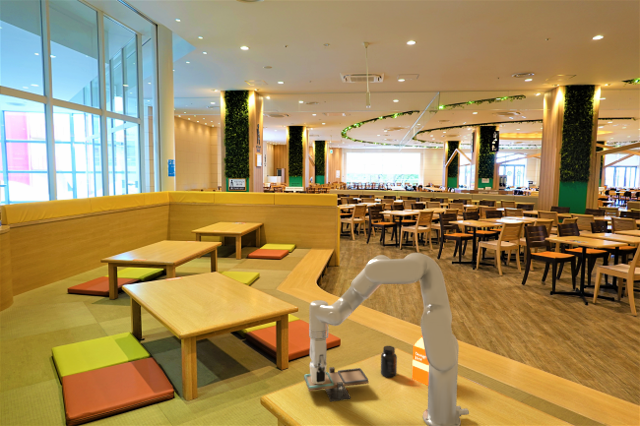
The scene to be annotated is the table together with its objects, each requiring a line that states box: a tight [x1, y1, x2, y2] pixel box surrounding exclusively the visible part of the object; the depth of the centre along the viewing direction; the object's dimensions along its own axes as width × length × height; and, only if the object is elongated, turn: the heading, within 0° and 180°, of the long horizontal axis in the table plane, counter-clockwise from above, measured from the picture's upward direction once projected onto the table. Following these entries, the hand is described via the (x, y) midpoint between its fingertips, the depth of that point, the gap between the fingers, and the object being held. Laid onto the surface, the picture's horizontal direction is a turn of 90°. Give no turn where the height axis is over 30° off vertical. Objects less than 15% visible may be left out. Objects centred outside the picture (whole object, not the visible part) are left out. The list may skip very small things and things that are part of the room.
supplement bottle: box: [380, 345, 398, 379], centre depth 167 cm, size 7×7×12 cm
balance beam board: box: [303, 367, 369, 392], centre depth 153 cm, size 24×10×2 cm, turn 103°
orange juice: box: [412, 335, 429, 386], centre depth 163 cm, size 8×9×20 cm
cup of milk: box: [309, 360, 328, 384], centre depth 152 cm, size 7×7×7 cm
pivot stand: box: [324, 366, 352, 403], centre depth 154 cm, size 8×15×6 cm, turn 13°
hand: (318, 376), depth 152 cm, fingers open, 7 cm apart
